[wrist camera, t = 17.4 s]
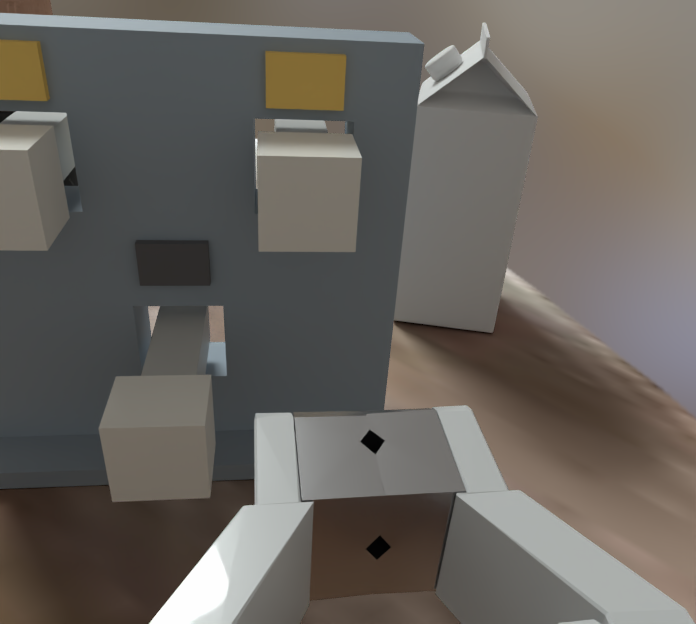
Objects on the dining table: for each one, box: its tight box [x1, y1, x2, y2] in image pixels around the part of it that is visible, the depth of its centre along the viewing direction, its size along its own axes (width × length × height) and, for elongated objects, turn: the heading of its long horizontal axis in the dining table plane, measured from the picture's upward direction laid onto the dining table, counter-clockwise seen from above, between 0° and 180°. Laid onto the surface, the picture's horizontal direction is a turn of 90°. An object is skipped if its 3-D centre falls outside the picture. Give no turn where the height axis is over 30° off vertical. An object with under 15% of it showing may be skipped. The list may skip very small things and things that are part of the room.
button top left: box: [0, 111, 75, 251], centre depth 26 cm, size 4×10×4 cm, turn 6°
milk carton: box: [394, 23, 538, 333], centre depth 43 cm, size 7×7×19 cm
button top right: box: [257, 119, 362, 252], centre depth 27 cm, size 4×10×4 cm, turn 6°
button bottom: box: [99, 306, 216, 502], centre depth 27 cm, size 4×10×4 cm, turn 6°
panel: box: [0, 13, 424, 489], centre depth 29 cm, size 20×8×20 cm, turn 96°
